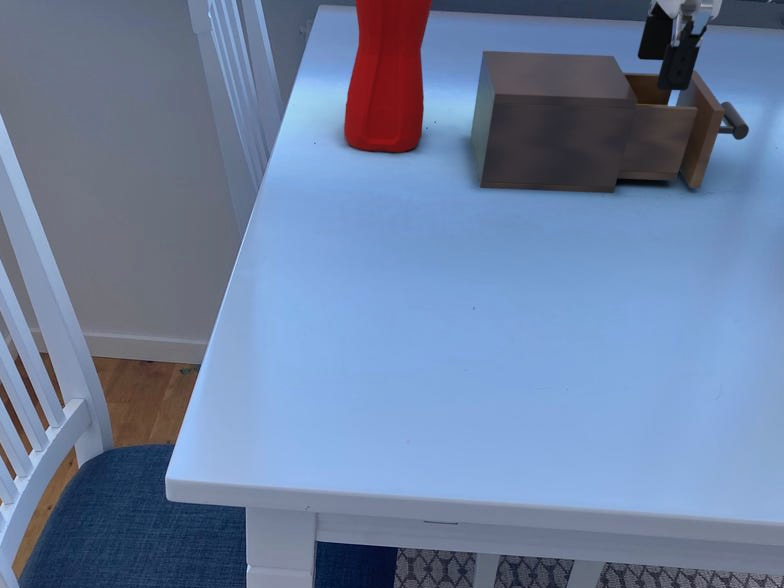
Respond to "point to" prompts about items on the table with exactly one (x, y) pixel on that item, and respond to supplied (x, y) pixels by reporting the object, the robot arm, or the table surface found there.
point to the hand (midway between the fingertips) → (661, 73)
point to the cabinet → (550, 121)
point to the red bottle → (387, 76)
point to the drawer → (675, 130)
